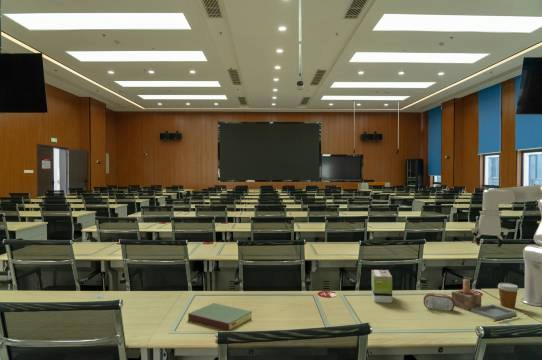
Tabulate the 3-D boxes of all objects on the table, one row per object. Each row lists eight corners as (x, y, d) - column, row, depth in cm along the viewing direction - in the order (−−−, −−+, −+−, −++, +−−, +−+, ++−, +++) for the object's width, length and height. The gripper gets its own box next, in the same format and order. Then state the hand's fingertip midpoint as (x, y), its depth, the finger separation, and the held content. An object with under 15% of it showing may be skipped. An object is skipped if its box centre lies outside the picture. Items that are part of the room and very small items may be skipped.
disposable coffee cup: (521, 311, 211) (521, 288, 210) (501, 310, 213) (501, 287, 212) (514, 305, 220) (514, 283, 220) (494, 304, 222) (495, 282, 222)
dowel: (465, 305, 217) (466, 278, 217) (470, 306, 214) (471, 280, 214) (461, 305, 216) (461, 279, 215) (466, 307, 213) (467, 280, 212)
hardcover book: (188, 321, 196) (188, 313, 196) (213, 310, 212) (213, 303, 212) (229, 332, 183) (229, 323, 183) (253, 319, 199) (253, 311, 199)
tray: (492, 308, 214) (492, 304, 214) (516, 316, 202) (516, 311, 202) (471, 313, 207) (471, 308, 207) (494, 321, 195) (494, 316, 195)
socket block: (464, 304, 222) (464, 289, 221) (481, 309, 213) (481, 294, 212) (451, 306, 217) (451, 291, 217) (467, 312, 208) (468, 297, 208)
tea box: (371, 294, 239) (371, 269, 239) (388, 295, 238) (388, 269, 237) (373, 302, 224) (374, 275, 224) (392, 303, 223) (393, 276, 223)
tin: (454, 311, 209) (454, 295, 209) (454, 313, 207) (454, 297, 206) (423, 307, 216) (423, 291, 216) (423, 309, 213) (423, 293, 213)
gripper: (507, 214, 214) (505, 246, 214) (470, 211, 220) (469, 243, 220) (510, 215, 207) (509, 248, 207) (473, 212, 213) (471, 245, 213)
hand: (488, 246), depth 214 cm, fingers open, 9 cm apart
